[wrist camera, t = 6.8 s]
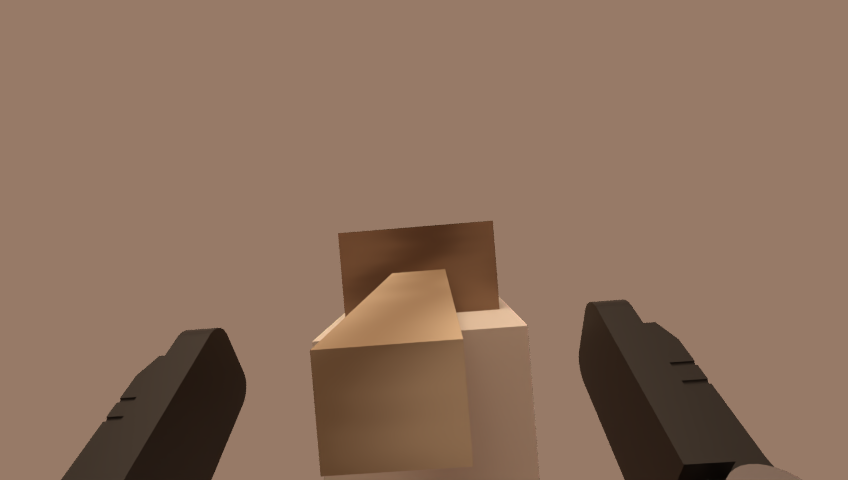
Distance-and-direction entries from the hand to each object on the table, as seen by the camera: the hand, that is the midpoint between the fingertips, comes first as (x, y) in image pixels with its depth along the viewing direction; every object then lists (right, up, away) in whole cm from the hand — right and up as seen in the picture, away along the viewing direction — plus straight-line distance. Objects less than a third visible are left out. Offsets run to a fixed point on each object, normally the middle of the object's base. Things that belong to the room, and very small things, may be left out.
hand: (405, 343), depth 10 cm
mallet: (0, -1, +6) cm, 6 cm away
